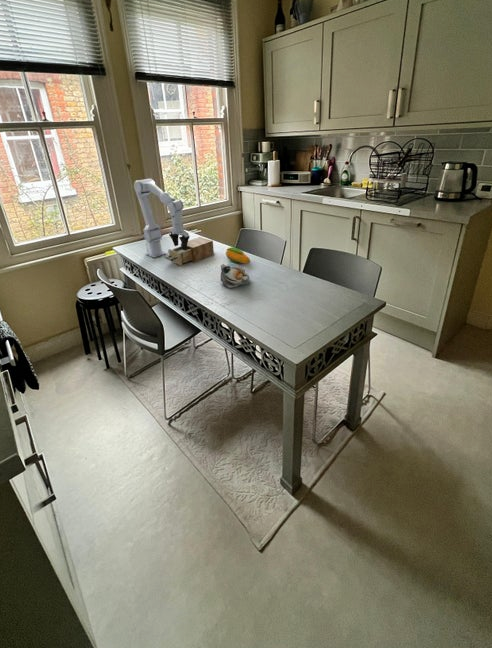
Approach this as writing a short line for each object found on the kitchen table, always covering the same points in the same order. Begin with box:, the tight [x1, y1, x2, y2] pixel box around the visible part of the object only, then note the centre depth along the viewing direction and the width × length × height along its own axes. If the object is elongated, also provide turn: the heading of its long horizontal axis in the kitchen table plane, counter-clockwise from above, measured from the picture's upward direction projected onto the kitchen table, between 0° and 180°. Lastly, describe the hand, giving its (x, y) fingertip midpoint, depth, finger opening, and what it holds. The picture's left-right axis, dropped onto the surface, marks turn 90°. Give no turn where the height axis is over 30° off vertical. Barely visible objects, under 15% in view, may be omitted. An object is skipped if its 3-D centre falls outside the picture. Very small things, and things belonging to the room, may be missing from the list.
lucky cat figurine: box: [220, 263, 250, 289], centre depth 146 cm, size 15×12×14 cm
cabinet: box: [180, 236, 215, 263], centre depth 184 cm, size 15×12×9 cm
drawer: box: [164, 245, 194, 266], centre depth 176 cm, size 18×10×7 cm, turn 136°
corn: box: [225, 246, 251, 265], centre depth 173 cm, size 7×8×20 cm
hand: (180, 247), depth 174 cm, fingers open, 7 cm apart
